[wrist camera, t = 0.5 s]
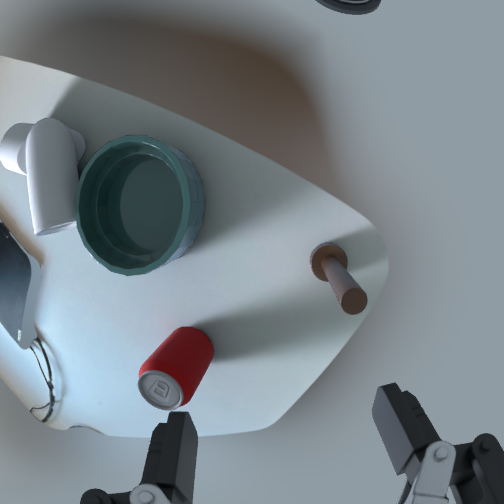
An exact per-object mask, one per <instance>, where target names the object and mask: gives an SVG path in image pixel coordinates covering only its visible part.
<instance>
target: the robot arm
mask: <svg viewBox="0 0 504 504" xmlns="http://www.w3.org/2000/svg"><path fill="white" fill-rule="evenodd" d="M334 1H336V2H339V3H342V4H347V5H363V4H366V3H369V2H370V1H371V0H334ZM372 415H373V419H374V422H375V424H376V426H377V429H378V431H379V433H380V436H381V438H382V440H383V443H384V445H385V447H386V450H387V452H388V454H389V457H390V459H391V462H392V464H393V467H394V469H395V472H396V474H397V475H400V474H403V473H405V474H406V476H407V478H406V481H405V483H404V486H403V488H402V491H401V493H400V496H399V498H398V500H397V503H396V504H448V503H449V499H448V498H447V497H446V494H447V490H448V487H449V486H450V488H451V490H452V493H453V495H454V498H455V501H456V504H504V451H503V449H502V447H501V446H500V444H499V442H498V441H497V439H496V438H495V437H494V436H493V435H491V434H488V433H484V434H481V435H479V436H477V437H476V438H475V440H474V441H473V442H471V443H466V444H460V445H452V444H451V443H449V442H447V441H442V440H441V439H440V437H439V436H438V434H437V432H436V430H435V429H434V427H433V425H432V423H431V422H430V420H429V418H428V417H427V415H426V414H425V412H424V410H423V408H422V407H421V405H420V403H419V402H418V400H417V398H416V397H415V396H414V395H412V394H411V393H409V392H408V391H404V392H401V390H400V388H399V387H398V385H397V384H396V383H391V384H387V385H384V386H380V387H378V389H377V393H376V397H375V400H374V404H373V408H372ZM150 442H151V443H150V445H149V449H148V450H149V452H148V454H147V458H146V462H145V467H144V471H143V476H142V480H141V483H140V484H139V486H137V487H135V488H134V489H133V490H132V491H129V492H125V493H116V494H107V493H106V492H104V491H103V490H100V489H90V490H88V491H86V492H85V493H84V494H83V495H82V498H81V501H80V504H192V502H193V501H192V500H193V490H194V479H195V468H196V456H197V447H198V435H197V431H196V429H195V426H194V424H193V422H192V419H191V417H190V414H189V412H173V411H171V412H170V413H169V416H168V420H167V423H159V424H158V425H157V427H156V428H155V429H154V431H153V433H152V437H151V441H150Z"/></svg>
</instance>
